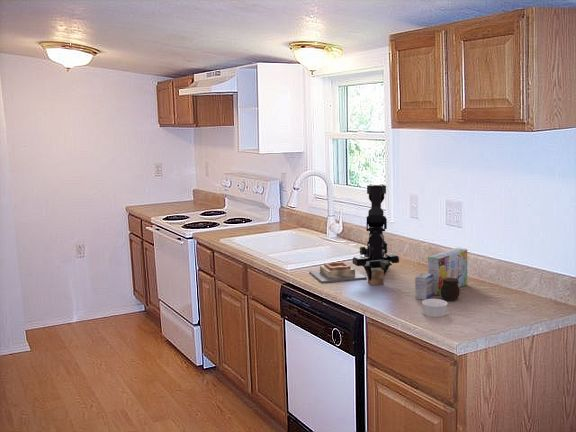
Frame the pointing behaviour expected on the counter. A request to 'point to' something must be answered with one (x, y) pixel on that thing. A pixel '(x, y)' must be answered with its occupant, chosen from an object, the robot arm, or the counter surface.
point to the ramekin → (434, 307)
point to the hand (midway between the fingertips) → (375, 279)
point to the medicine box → (424, 286)
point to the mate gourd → (450, 289)
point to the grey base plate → (324, 279)
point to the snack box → (448, 267)
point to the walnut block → (376, 277)
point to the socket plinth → (337, 270)
